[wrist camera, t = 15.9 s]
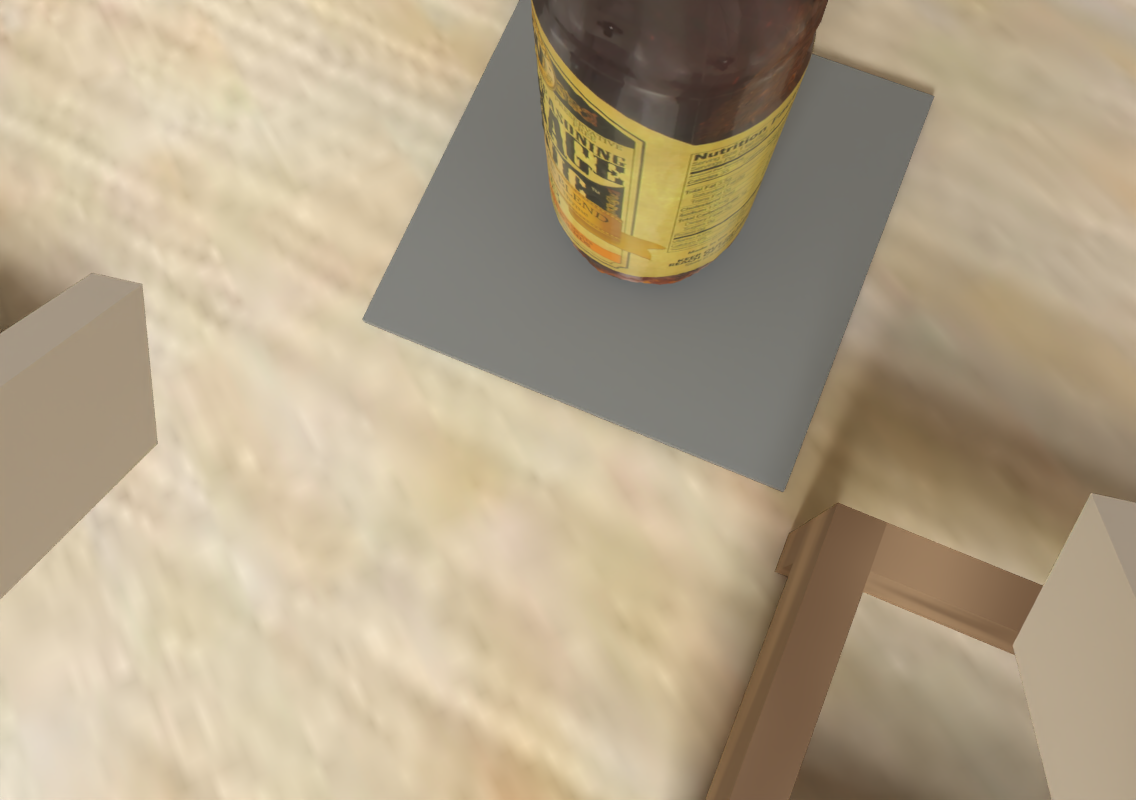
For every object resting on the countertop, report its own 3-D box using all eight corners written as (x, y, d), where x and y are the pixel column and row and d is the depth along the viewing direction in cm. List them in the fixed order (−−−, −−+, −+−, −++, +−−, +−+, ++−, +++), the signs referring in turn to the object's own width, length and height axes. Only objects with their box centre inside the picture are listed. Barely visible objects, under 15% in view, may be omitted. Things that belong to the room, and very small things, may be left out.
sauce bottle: (533, 140, 33) (432, -576, 14) (720, 98, 33) (879, -671, 14) (578, 326, 31) (536, -187, 12) (774, 282, 32) (1039, -297, 12)
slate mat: (931, 101, 33) (934, 96, 33) (782, 491, 30) (784, 490, 30) (540, -35, 35) (539, -41, 35) (364, 322, 32) (362, 319, 32)
